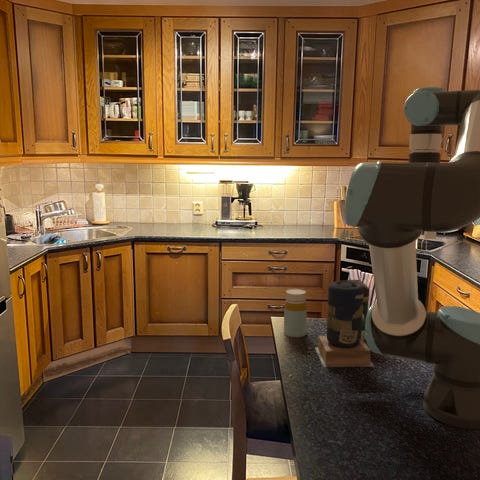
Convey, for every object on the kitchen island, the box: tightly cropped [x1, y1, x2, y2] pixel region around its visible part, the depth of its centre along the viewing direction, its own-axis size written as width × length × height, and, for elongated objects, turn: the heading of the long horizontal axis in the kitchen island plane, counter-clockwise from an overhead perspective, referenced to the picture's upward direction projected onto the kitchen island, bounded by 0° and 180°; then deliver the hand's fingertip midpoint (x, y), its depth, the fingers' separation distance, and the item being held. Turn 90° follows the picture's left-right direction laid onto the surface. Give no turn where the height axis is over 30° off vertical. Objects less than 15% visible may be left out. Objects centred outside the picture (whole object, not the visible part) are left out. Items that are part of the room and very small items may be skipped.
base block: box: [317, 335, 372, 365], centre depth 135 cm, size 11×12×4 cm
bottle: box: [283, 288, 308, 338], centre depth 152 cm, size 7×7×15 cm
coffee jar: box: [345, 279, 370, 341], centre depth 150 cm, size 10×8×19 cm
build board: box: [314, 346, 375, 368], centre depth 135 cm, size 18×15×1 cm
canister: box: [326, 280, 364, 347], centre depth 133 cm, size 10×10×18 cm
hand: (419, 234), depth 126 cm, fingers open, 13 cm apart
